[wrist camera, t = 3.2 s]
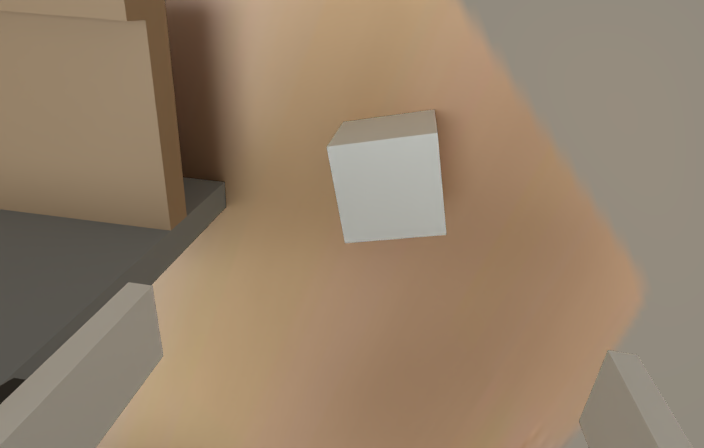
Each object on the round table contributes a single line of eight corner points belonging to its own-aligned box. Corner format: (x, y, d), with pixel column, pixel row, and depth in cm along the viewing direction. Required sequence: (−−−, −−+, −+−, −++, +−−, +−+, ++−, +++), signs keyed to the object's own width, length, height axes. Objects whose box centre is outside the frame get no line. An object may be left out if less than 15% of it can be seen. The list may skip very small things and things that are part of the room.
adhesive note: (434, 108, 29) (438, 132, 24) (442, 195, 32) (447, 234, 26) (342, 121, 30) (326, 146, 25) (357, 204, 33) (344, 243, 27)
